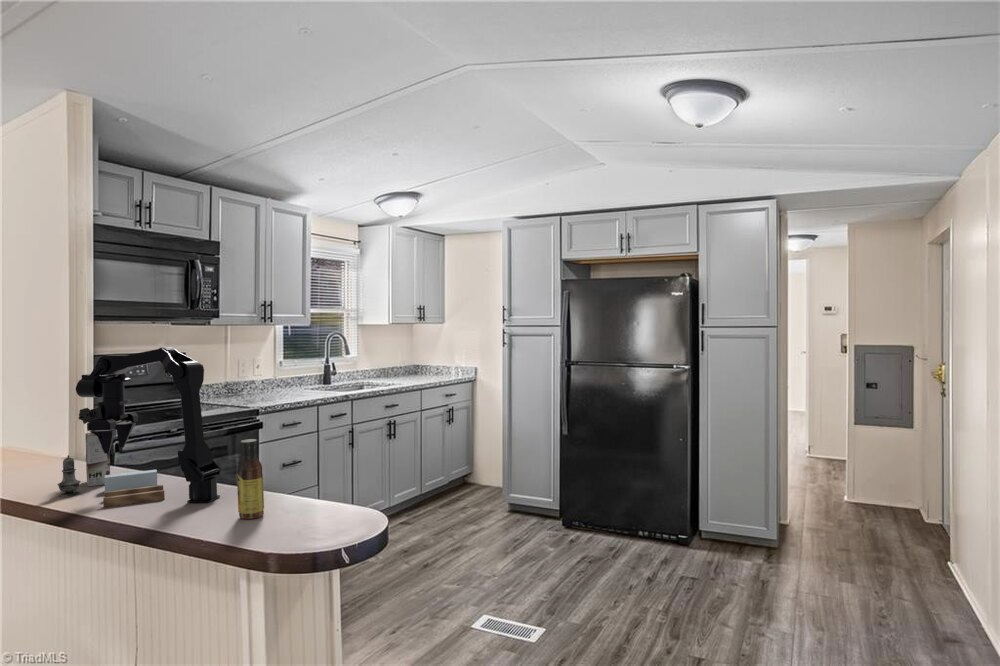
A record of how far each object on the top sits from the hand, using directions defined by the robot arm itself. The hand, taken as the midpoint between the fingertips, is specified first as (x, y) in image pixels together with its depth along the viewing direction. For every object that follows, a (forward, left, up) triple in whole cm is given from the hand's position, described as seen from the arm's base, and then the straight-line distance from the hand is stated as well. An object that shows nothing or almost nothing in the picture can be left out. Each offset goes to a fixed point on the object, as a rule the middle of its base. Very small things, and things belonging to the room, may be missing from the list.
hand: (114, 450), depth 190 cm
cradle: (-8, +3, -14) cm, 16 cm away
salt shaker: (+17, -3, -14) cm, 22 cm away
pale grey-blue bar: (+2, -10, -14) cm, 17 cm away
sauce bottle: (-51, +19, -14) cm, 56 cm away
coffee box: (+19, -18, -14) cm, 29 cm away
